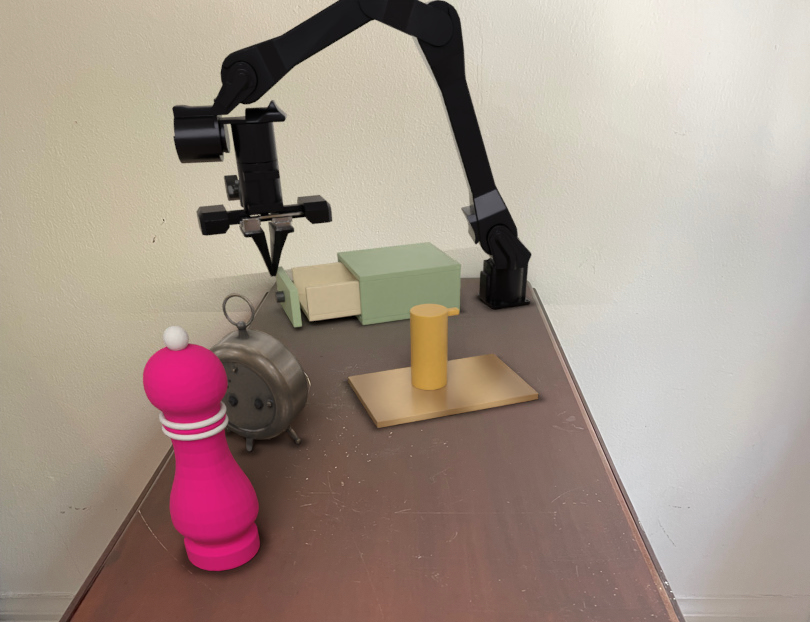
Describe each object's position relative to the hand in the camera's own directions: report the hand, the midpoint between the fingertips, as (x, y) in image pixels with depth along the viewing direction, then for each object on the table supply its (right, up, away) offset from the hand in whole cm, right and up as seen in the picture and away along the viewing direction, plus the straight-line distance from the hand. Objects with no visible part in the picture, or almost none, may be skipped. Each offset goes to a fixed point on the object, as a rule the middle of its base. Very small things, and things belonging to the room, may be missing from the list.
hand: (273, 275), depth 106 cm
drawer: (+8, -4, +2) cm, 9 cm away
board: (+24, -22, -20) cm, 38 cm away
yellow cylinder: (+23, -21, -20) cm, 37 cm away
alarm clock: (+4, -30, -29) cm, 42 cm away
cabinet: (+19, -3, +5) cm, 20 cm away
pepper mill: (+4, -41, -44) cm, 61 cm away
